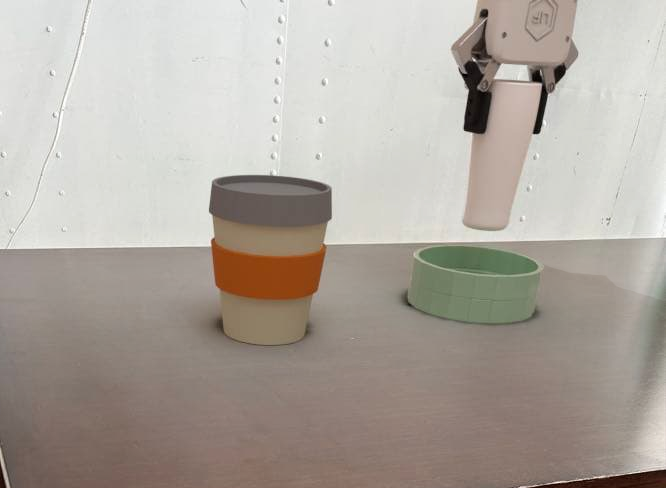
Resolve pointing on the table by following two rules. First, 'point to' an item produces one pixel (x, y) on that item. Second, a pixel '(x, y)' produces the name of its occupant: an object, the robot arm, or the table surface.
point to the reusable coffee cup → (268, 253)
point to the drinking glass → (500, 154)
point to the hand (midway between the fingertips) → (501, 131)
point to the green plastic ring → (474, 283)
